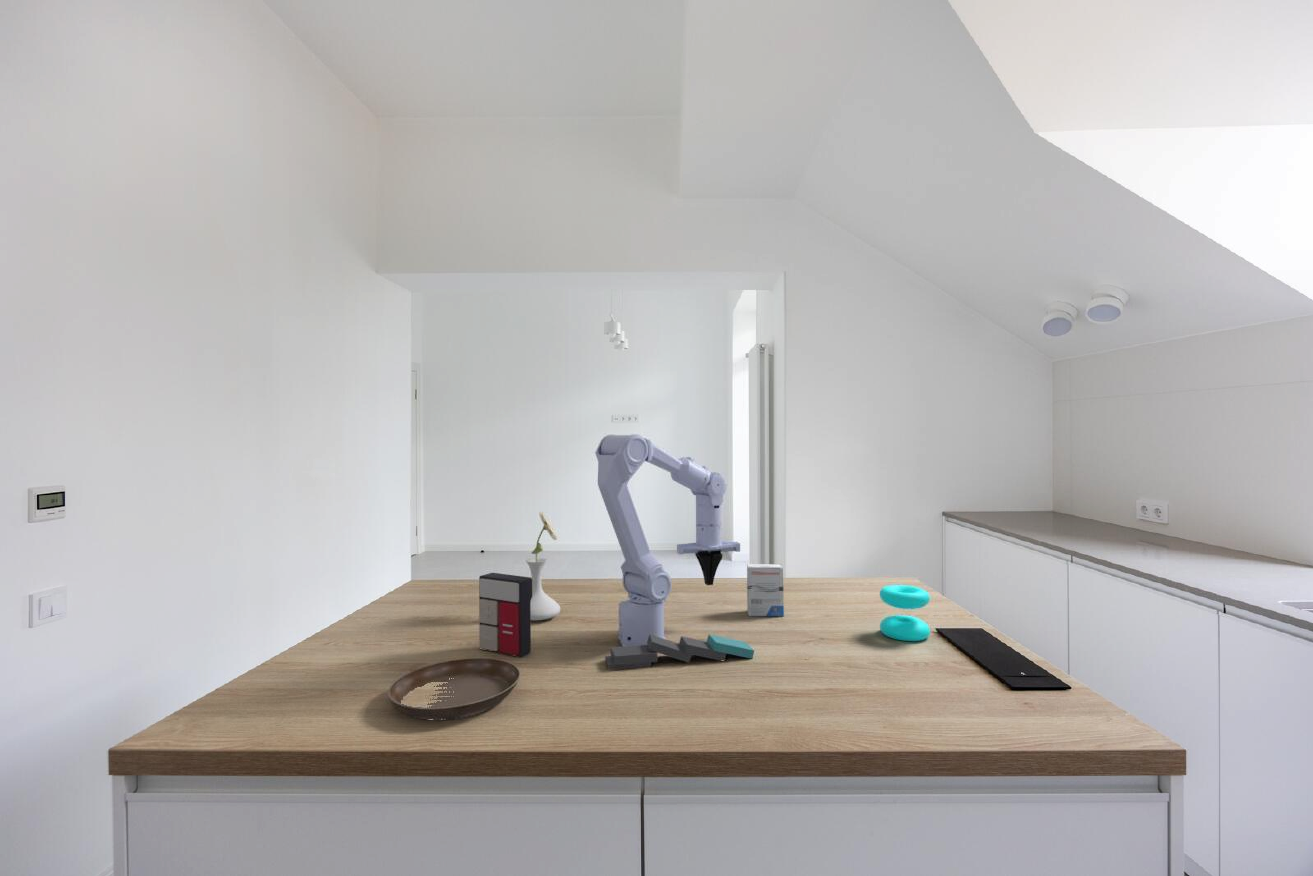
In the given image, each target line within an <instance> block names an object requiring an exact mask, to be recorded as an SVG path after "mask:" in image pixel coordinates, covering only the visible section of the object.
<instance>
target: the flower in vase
mask: <svg viewBox="0 0 1313 876" xmlns="http://www.w3.org/2000/svg"><path fill="white" fill-rule="evenodd" d="M538 513H539V516H540V519H541V522H542V523H543V524H542V525H543V527H542V529H541V531H540V533H539V535H538V537H537V541H536V546H535V548H534V549H533V551H531V554H533V555H535V557H534V558H533V557H532V558H527V559H525V562H526V564H527V566H529V570H530V575H531V578H532V599H531V602H530V610H531V621H543V620H548V619H551V618H553V617H556V616H557V615H559V613H560V612H561V606H560V604H559V603H558V602H556V601H555V600H554V599H553V598H552V597H550V596H549V595H547V593H545V591H544V590H543V587H542V577H543V576H542V574H543V573H542V572H543V568H544V566H545V564H546V562H547V561H548V559H547V558H544V557H543V558H542V557H538V554H539V553H543V551H544V548H543V546H542V543H540V542H539V541H540V539H541V536H542V534H543V532H544V530H545V531H547V533H548V535H549V536H550V537H551V539H552V540H553V541H557V540H558V537H557V535H556V533H555V532H554V531H553V527H552V526H551V525H550V524H549V520H548V519H547V517H545V515H544V512H543V511H542V512H541V511H539V512H538Z"/></svg>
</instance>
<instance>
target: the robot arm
mask: <svg viewBox="0 0 1313 876" xmlns="http://www.w3.org/2000/svg"><path fill="white" fill-rule="evenodd" d="M595 456H596V459H597V462H598V465H597V486H598V490H599V492H600V494H601V498H602V500H603V502H604V506H605V508H606V511H607V514H608V517H609V519H610V522H611V525H612V527H613V530H614V533H615V536H616V538H617V541H618V544H619V547H620V549H621V552H622V556H623V558H624V561H623V563H622V564H620V565H621V566H620V569H621V572H622V586H623V589H624V590H625V592H627V597H628V599H627V600H621V601H619V603H618V640H619V642H620V645H621V647H624V646H638V645H648V644H647V640H648V637H649V635H650V634H651V635H654V636H657V637H660V638H663V639H666V640H667V637H665V602H666V601H667V598H668V597H669V595H670V592H671V590H672V580H671V576H670V575H669V573H667V571H665V569H664V568H663V566H662V563H661V562H660V560H658V559H657V558H656V556H654V555H653V554H652V551H651V550H650V546H649V544H648V541H647V538H646V535H645V533H644V530H643V528H642V524H641V522H640V519H639V516H638V512H637V510H636V507H635V504H634V502H633V499H632V496H631V493H630V490H629V487H628V483H629V481H630V479H632V477H634V475H635V474H636V473H637V472H638V470H639V469H640V467H642V465H643V464H645V463H644V462H646V463H649V464H651V465H653V466H655V467H657V468H660V469H662V470H664V471H666V472H669V473H670V477H671V480H672V481H673V482H676V483H678V484H680V485H682V486H683V487H685V488H686V489H689V490H690V492H691V493H692V495H693V496H695V542H691V543H690V542H689V543H680V544H679V543H678V544H676V554H678V555H684V554H694V555H695V557H696V559H697V561H698V563H699V566H700V569H701V571H702V575H703V576H702V577H703V582H704V584H705V585H706V586H713V585H714V581H715V576H716V573H717V570H718V568H719V565H720V564H721V561H722V559H723V553H725V552H739V553H740V552H741V543H740V542H738V541H722V505H723V502H724V495H725V493H726V492H727V488H728V487H727V485H728V484H727V483H726V481H725V478H724V476H722V474H720V473H719V472H715V471H714V472H713V471H712V472H711V471H710V470H708V469H709V468H708V467H707V466H705V465H704V466H703V465H702V466H701V465H700V464H698V463H696V462H695V459H694V458H693V457H691V456H686V457H684V456H683V457H680V458H676V457H675V456H674V455H672V454H671V453H669V452H668V451H665V450H664V448H663V449H662V447H660V446H658V445H656V444H655V443H653V442H652V441H651V439H649V438H646V437H643V436H642V435H641V434H639V433H632V434H617V435H616V434H607V435H605V436H604V437H603V438H602V439H601V440H600V442H599V443H598V446H597V448H596V450H595Z"/></svg>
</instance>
